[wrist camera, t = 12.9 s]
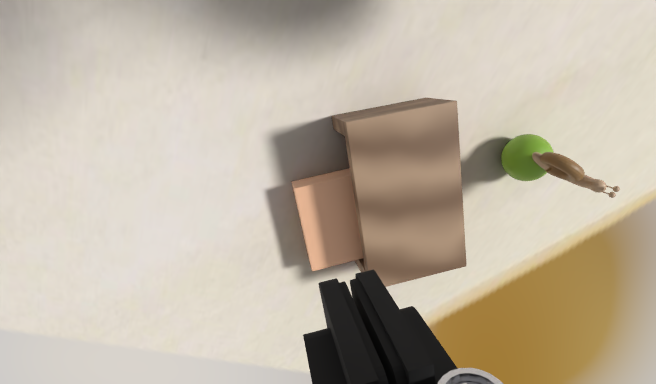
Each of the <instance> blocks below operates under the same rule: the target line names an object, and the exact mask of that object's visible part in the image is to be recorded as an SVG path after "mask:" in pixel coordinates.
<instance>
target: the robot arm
mask: <svg viewBox="0 0 656 384" xmlns="http://www.w3.org/2000/svg"><path fill="white" fill-rule="evenodd" d="M350 285H351V291H352V296H351V294H350V291H349V289H348V287H347V285H346V283H345V282H341V283H339V282H338V280H337V279H332V280H328V281H324V282H320V283H319V288H320V293H321V298H322V303H323V308H324V313H325V318H326V323H327V329H323V330H320V331H316V332H312V333H308V334H304V335H303V336H304V341H305V347H306V352H307V357H308V363H309V368H310V373H311V378H312V384H503V383H502V382H501V381H500V380H498V379H497V378H496V377H494V376H493V375H492V374H489V373H487V372H485V371H482V370H479V369H474V368H459V369H458V368H457V367H456V366H455V364H454V363H453V361H452V360H451V358H450V357H449V356H448V354H447V353H446V351H445V350H444V348H443V347H442V346H441V344H440V343H439V341H438V340H437V339H436V337H435V336H434V334H433V333H432V331H431V330H430V328H429V327H428V326H427V324H426V323H425V321H424V320H423V318H422V317H421V316H420V314H419V313H418V311H417V310H416V309H415V308H414V307H412V306H411V307H407V308H403V309H400V310H399V308H398V306H397V305H396V303H395V302H394V300H393V298H392V297H391V295H390V294H389V292H388V290H387V289H386V287H385V286H384V284H383V283H382V281H381V279H380V278H379V276H378V275H377V273H376V271H375V270H369V271H365V272H361V273H357V274H356V279H353V280H350ZM352 297H353V298H352Z"/></svg>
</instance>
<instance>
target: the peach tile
mask: <svg viewBox="0 0 656 384" xmlns="http://www.w3.org/2000/svg"><path fill="white" fill-rule="evenodd" d="M291 182H292V187H293V191H294V196H295V200H296V204H297V209H298V213H299V218H300V222H301V227H302V231H303V236H304V240H305V245H306V249H307V254H308V258H309V262H310V265H311V268H312V271H316V270H320V269H324V268H327V267H331V266H335V265H339V264H343V263H347V262H351V261H354V260H358V259H362V258H363V252H362V246H361V239H360V233H359V226H358V219H357V213H356V206H355V200H354V193H353V187H352V180H351V173H350V168H348V169H344V170H339V171H335V172H331V173H326V174H322V175H318V176H313V177H309V178H304V179H300V180H296V181H291Z"/></svg>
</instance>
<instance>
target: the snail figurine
mask: <svg viewBox="0 0 656 384" xmlns="http://www.w3.org/2000/svg"><path fill="white" fill-rule="evenodd" d="M501 162H502V166H503V168H504V170H505V171H506V172H507V174H509V175H510V176H511V177H513V178H515V179H517V180H521V181H532V180H536V179H538V178H540V177H542V176H544V175H545V174H546V173H549V174H551V175H553V176H556V177H558V178H561V179H564V180H567V181H569V182H571V183H573V184H576V185H578V186H581V187H585V188H589V189H591V190H593V191H594V192H603V193H606V192H604V190H605V189H606V187H609V186H607V185H606V184H605V182H604V181H602V180H599V179H593V178H591V177H589V176H586V175H584V170H583V169H582V168H581V167H580V166H579V165H578V164H577V163H575V162H574V161H573V160H571V159H569V158H567V157H565V156H563V155H560V154H556V153H553V150H552V147H551V146H550V144H549V143H548V142H547V141H546V140H545V139H543V138H542V137H539V136H537V135H531V134H526V135H521V136H518V137H515V138H514V139H512V140H511V141H509V142H508V143H507V145H506V146H505V147H504V149H503V152H502V156H501ZM609 188H612V187H609ZM619 190H620V188H619V187H618V186H615V187H614V188H613V191H615V192H618V191H619ZM606 194H609V197H611V198H613V197H615V195H616V194H615V193H614V192H610V193H606Z"/></svg>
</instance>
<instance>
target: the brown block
mask: <svg viewBox="0 0 656 384" xmlns="http://www.w3.org/2000/svg"><path fill="white" fill-rule="evenodd" d="M332 122H333V128H334V130H335V131H337V132H339V133H340V134H342V135H344V136H345V141H346V147H347V154H348V160H349V167H350V173H351V180H352V187H353V193H354V200H355V206H356V213H357V219H358V226H359V233H360V239H361V246H362V252H363V258H362V259H358V260H355V262H356V264H357V266H358V268H359V269H360V271H361V272H365V271H369V270H375V271H376V273H377V275H378V276H379V278H380V279H381V281H382V283H383V284H384V286H385V287H386V286H390V285H394V284H398V283H402V282H406V281H410V280H414V279H418V278H421V277H425V276H429V275H433V274H437V273H441V272H445V271H449V270H453V269H457V268H461V267H465V266H466V250H465V233H464V216H463V198H462V181H461V164H460V146H459V129H458V112H457V101H452V100H442V99H432V98H422V99H417V100H412V101H406V102H401V103H396V104H391V105H386V106H380V107H375V108H370V109H365V110H359V111H354V112H349V113H344V114H338V115H333V116H332Z"/></svg>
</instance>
